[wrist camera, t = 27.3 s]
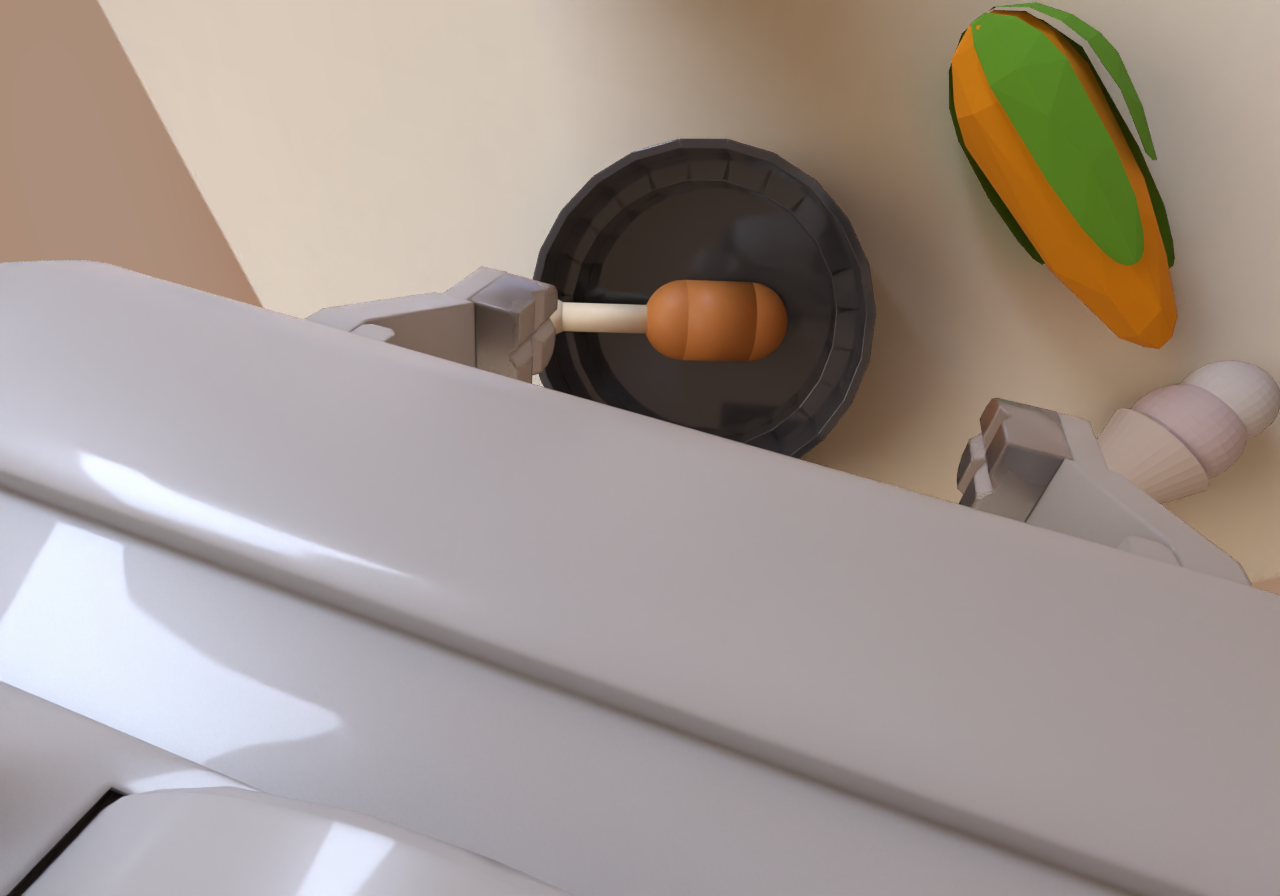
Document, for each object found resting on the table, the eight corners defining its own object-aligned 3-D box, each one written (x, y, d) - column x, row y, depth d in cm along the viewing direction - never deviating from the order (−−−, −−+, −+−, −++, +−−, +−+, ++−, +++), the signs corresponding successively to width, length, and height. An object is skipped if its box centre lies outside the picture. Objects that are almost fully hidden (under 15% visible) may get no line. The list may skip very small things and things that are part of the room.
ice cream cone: (997, 515, 46) (1203, 365, 43) (1072, 591, 42) (1301, 432, 40) (990, 487, 41) (1222, 315, 38) (1075, 570, 37) (1336, 387, 35)
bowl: (502, 305, 49) (465, 312, 43) (719, 78, 42) (708, 52, 37) (693, 516, 50) (680, 550, 45) (932, 328, 44) (952, 340, 38)
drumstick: (537, 350, 45) (531, 362, 40) (537, 273, 44) (531, 276, 39) (772, 356, 46) (793, 368, 42) (779, 281, 45) (801, 285, 40)
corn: (1083, -72, 31) (1292, 313, 33) (1038, -19, 38) (1213, 296, 40) (924, 47, 34) (1125, 395, 36) (909, 76, 41) (1079, 365, 43)
